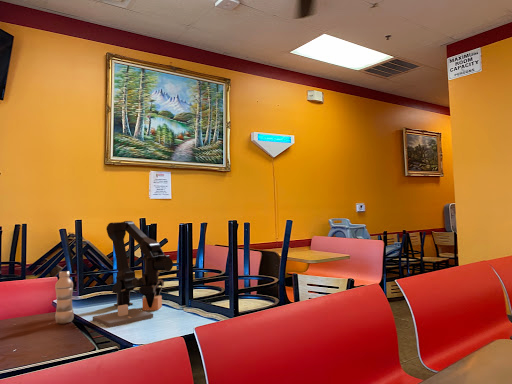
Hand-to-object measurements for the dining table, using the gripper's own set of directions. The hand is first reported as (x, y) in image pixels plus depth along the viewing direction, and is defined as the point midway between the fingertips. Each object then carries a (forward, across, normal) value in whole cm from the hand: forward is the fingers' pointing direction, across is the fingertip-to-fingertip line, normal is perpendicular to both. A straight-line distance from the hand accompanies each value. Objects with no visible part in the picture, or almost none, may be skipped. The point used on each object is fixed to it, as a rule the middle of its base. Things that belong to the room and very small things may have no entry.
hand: (152, 305), depth 173 cm
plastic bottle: (+1, +20, -29) cm, 36 cm away
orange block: (+1, 0, 0) cm, 1 cm away
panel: (+1, +17, -7) cm, 18 cm away
